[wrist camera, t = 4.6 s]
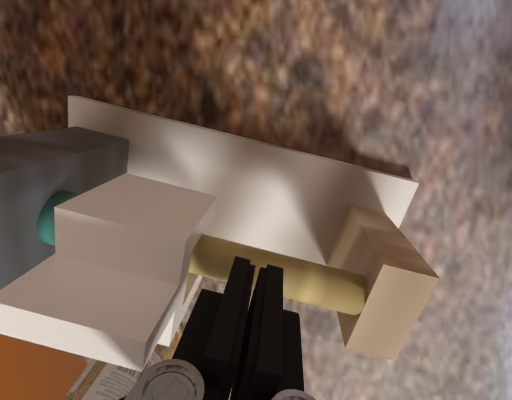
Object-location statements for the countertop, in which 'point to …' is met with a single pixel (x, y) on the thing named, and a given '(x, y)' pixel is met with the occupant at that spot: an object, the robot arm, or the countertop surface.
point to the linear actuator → (233, 212)
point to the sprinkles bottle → (116, 376)
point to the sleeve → (113, 272)
